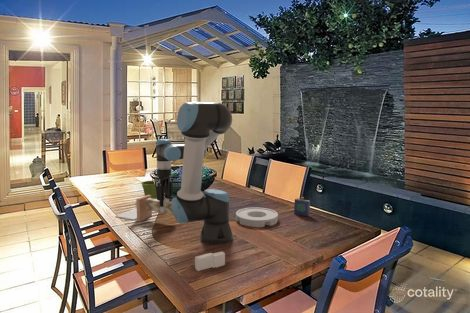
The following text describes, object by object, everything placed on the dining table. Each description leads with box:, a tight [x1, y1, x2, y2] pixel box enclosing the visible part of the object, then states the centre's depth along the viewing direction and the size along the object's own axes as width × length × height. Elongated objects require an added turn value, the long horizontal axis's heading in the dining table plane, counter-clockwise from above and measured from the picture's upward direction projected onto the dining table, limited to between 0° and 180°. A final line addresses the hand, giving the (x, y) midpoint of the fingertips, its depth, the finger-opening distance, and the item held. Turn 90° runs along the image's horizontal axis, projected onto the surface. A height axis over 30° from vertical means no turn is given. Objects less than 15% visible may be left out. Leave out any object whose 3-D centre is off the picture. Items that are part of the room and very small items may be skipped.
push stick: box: [146, 198, 174, 216], centre depth 190 cm, size 18×3×6 cm, turn 65°
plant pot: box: [140, 180, 157, 199], centre depth 233 cm, size 12×12×11 cm
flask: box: [293, 196, 311, 217], centre depth 203 cm, size 9×3×11 cm, turn 61°
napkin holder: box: [194, 251, 226, 272], centre depth 137 cm, size 15×11×6 cm
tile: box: [135, 195, 153, 222], centre depth 195 cm, size 2×10×12 cm, turn 155°
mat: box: [115, 207, 137, 221], centre depth 201 cm, size 13×16×1 cm
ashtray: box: [235, 206, 279, 228], centre depth 194 cm, size 23×23×4 cm
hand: (164, 211), depth 189 cm, fingers closed on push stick, 3 cm apart
